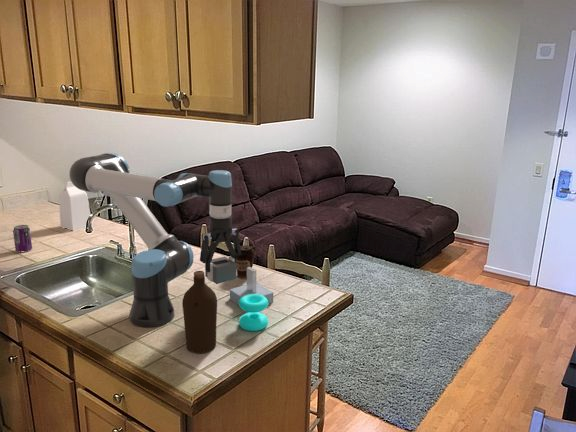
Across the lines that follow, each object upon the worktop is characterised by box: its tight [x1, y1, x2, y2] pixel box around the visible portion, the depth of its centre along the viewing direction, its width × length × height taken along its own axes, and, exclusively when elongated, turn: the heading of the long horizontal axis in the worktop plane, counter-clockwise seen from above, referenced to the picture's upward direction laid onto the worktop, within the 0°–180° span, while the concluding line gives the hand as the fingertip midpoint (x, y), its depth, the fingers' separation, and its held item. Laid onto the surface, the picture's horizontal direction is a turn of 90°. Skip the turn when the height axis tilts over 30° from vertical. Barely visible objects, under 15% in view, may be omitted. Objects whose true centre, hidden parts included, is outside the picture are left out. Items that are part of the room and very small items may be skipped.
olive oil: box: [181, 270, 218, 354], centre depth 150 cm, size 11×11×25 cm
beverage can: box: [12, 224, 33, 253], centre depth 232 cm, size 7×7×12 cm
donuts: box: [238, 294, 269, 332], centre depth 166 cm, size 10×10×10 cm
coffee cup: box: [236, 245, 255, 279], centre depth 207 cm, size 9×8×13 cm
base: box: [229, 282, 274, 305], centre depth 185 cm, size 12×12×4 cm
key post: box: [246, 267, 257, 293], centre depth 183 cm, size 2×4×9 cm, turn 38°
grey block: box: [204, 256, 237, 285], centre depth 171 cm, size 8×8×6 cm
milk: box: [58, 181, 91, 232], centre depth 268 cm, size 12×12×26 cm
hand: (221, 277), depth 172 cm, fingers closed on grey block, 8 cm apart
